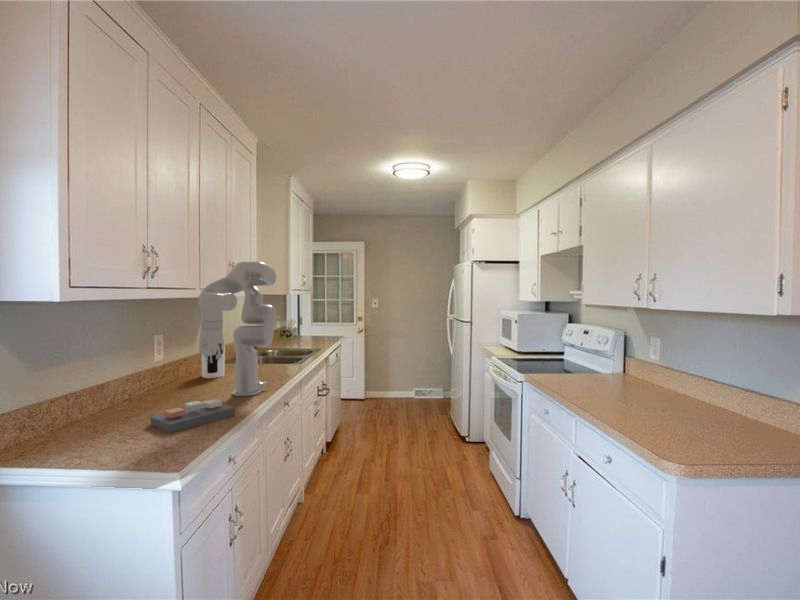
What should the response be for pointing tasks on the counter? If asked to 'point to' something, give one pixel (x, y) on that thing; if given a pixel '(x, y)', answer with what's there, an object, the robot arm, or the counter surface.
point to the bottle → (220, 367)
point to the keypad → (192, 418)
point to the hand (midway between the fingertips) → (212, 372)
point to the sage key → (194, 405)
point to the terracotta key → (174, 412)
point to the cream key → (212, 403)
